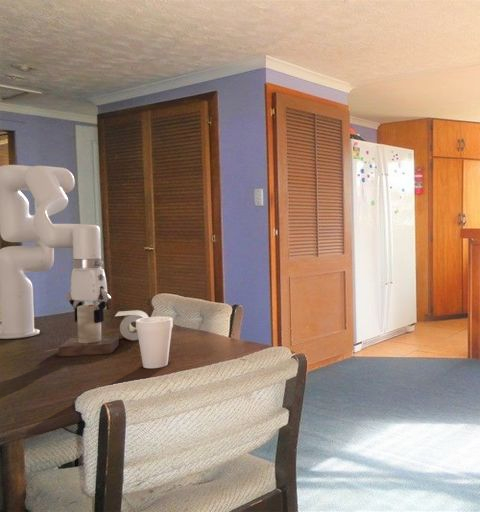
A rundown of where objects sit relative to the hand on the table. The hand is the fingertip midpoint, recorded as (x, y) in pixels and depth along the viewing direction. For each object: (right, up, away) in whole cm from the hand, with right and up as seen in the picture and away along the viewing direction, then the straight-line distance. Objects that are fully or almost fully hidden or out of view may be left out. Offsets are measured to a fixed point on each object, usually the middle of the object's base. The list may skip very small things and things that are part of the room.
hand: (89, 321), depth 164 cm
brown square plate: (0, -9, +1) cm, 9 cm away
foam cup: (+28, -11, -16) cm, 34 cm away
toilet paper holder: (+7, -8, +20) cm, 23 cm away
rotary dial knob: (0, -6, 0) cm, 6 cm away
